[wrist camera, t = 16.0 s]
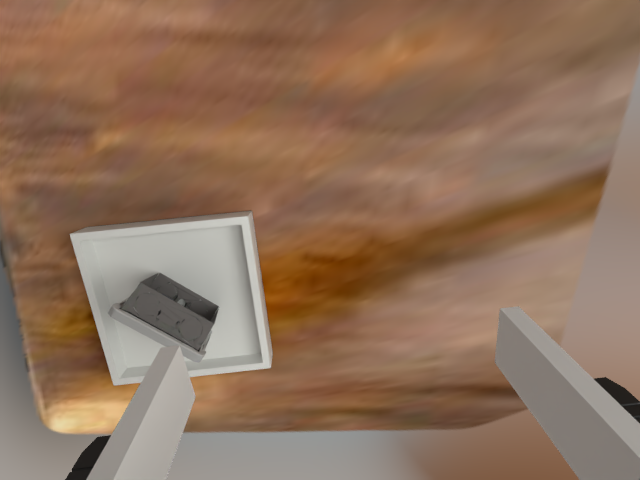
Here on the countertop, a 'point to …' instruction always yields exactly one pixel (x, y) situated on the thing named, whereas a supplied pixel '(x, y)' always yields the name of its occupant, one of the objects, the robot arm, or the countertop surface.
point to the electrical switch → (168, 315)
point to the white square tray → (186, 269)
